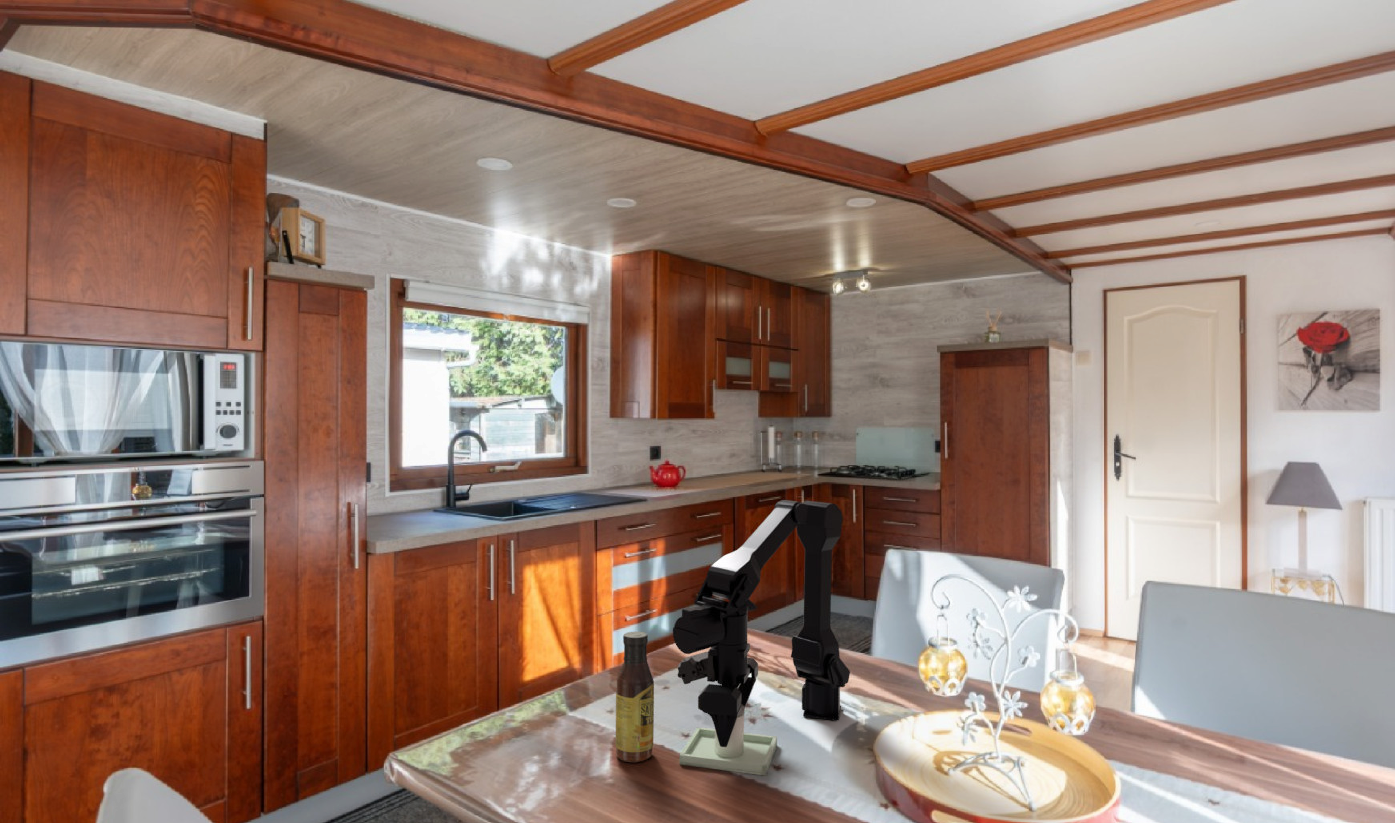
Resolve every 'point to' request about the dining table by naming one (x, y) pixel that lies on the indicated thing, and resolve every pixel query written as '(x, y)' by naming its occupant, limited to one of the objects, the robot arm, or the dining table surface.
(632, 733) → the sauce bottle
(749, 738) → the tray
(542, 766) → the dining table surface
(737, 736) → the spice jar
